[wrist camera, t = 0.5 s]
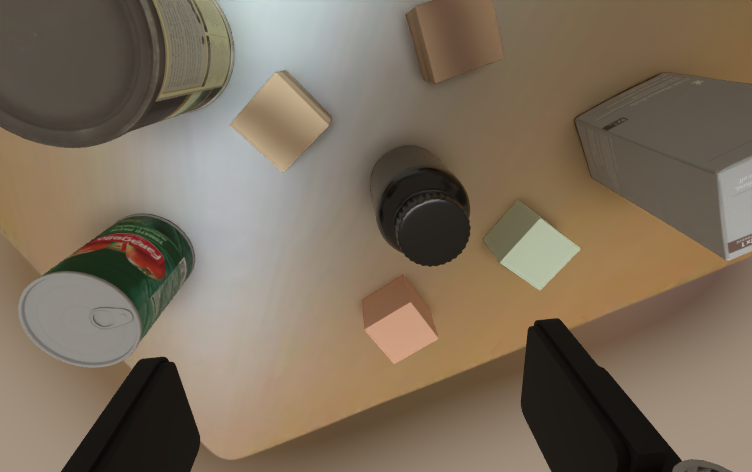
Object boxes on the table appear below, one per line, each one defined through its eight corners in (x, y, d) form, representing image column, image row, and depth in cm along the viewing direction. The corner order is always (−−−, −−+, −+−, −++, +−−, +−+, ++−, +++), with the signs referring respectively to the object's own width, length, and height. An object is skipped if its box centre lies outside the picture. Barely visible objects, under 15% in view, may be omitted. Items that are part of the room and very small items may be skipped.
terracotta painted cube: (403, 274, 40) (410, 301, 36) (429, 308, 42) (438, 338, 38) (362, 299, 41) (364, 329, 37) (389, 331, 43) (394, 364, 38)
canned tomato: (124, 293, 39) (47, 374, 29) (92, 219, 36) (-7, 281, 26) (205, 283, 39) (156, 361, 29) (181, 208, 36) (116, 265, 26)
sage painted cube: (517, 198, 38) (540, 218, 33) (554, 226, 39) (581, 248, 35) (482, 239, 39) (499, 262, 35) (518, 264, 41) (539, 290, 36)
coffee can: (197, 139, 34) (103, 188, 21) (73, 57, 31) (-125, 56, 18) (261, 30, 31) (198, 9, 18) (131, -72, 28) (-56, -184, 15)
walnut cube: (467, -10, 31) (488, -22, 26) (482, 58, 33) (504, 58, 28) (405, 14, 31) (415, 7, 27) (423, 80, 33) (435, 83, 29)
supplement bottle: (420, 229, 38) (448, 297, 27) (356, 197, 37) (359, 256, 26) (459, 166, 36) (507, 213, 25) (394, 129, 34) (414, 162, 24)
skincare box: (662, 70, 34) (896, 78, 19) (677, 145, 37) (893, 202, 22) (566, 119, 35) (719, 162, 20) (588, 188, 38) (737, 269, 23)
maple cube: (286, 70, 32) (275, 71, 28) (331, 116, 34) (329, 125, 29) (246, 115, 33) (229, 124, 29) (292, 158, 35) (283, 172, 30)
